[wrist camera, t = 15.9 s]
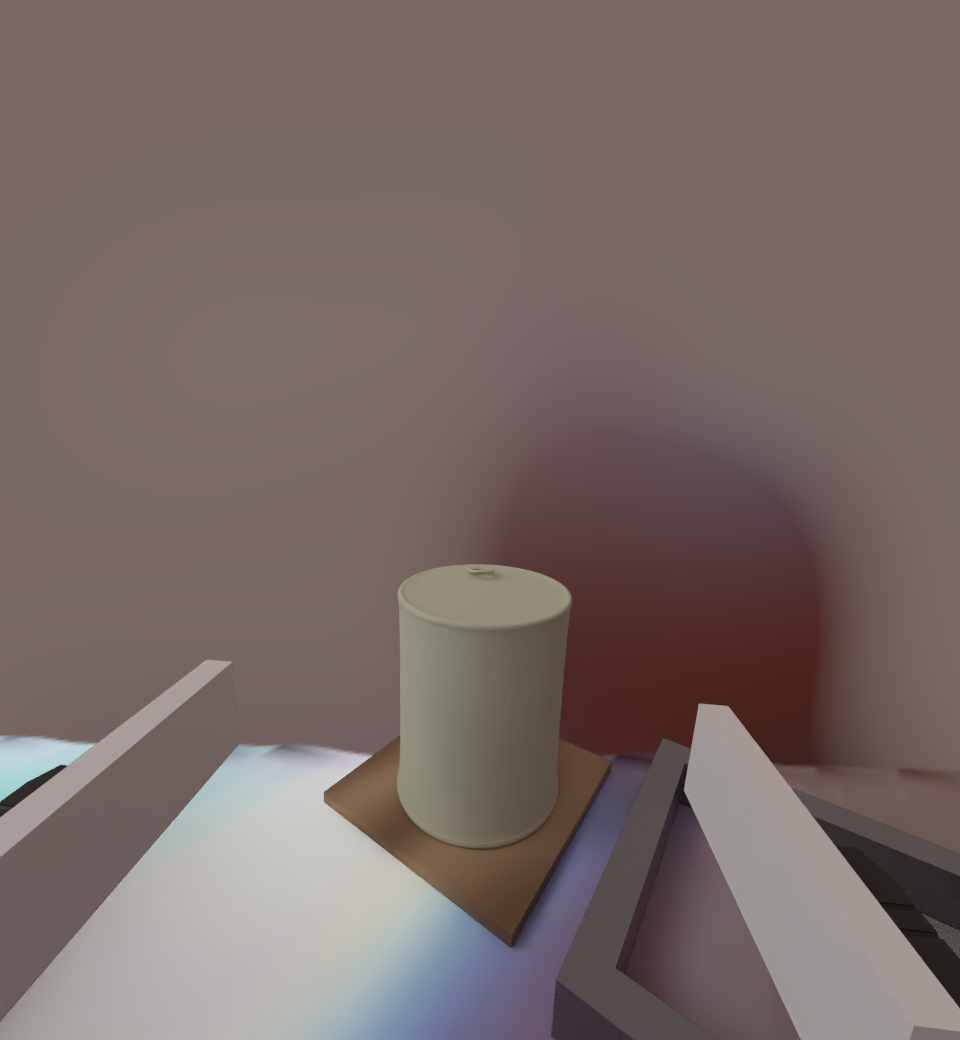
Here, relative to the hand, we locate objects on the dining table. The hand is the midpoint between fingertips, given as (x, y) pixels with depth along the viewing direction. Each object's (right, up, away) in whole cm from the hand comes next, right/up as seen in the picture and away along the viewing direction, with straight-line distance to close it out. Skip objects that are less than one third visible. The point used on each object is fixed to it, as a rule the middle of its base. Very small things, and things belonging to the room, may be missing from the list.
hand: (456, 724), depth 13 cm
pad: (0, -10, +14) cm, 17 cm away
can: (+1, -9, +13) cm, 16 cm away
